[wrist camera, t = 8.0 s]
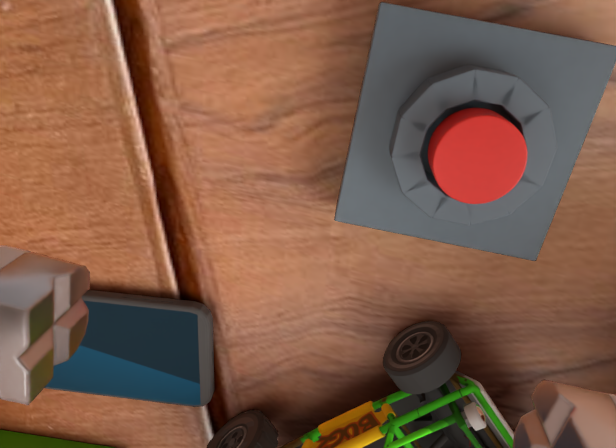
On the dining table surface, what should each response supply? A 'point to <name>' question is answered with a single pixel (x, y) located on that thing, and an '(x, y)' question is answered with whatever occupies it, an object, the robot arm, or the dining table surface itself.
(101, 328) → the smartphone
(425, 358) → the motor vehicle
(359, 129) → the grey button base
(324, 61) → the dining table surface
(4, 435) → the tape dispenser
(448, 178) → the bell button
